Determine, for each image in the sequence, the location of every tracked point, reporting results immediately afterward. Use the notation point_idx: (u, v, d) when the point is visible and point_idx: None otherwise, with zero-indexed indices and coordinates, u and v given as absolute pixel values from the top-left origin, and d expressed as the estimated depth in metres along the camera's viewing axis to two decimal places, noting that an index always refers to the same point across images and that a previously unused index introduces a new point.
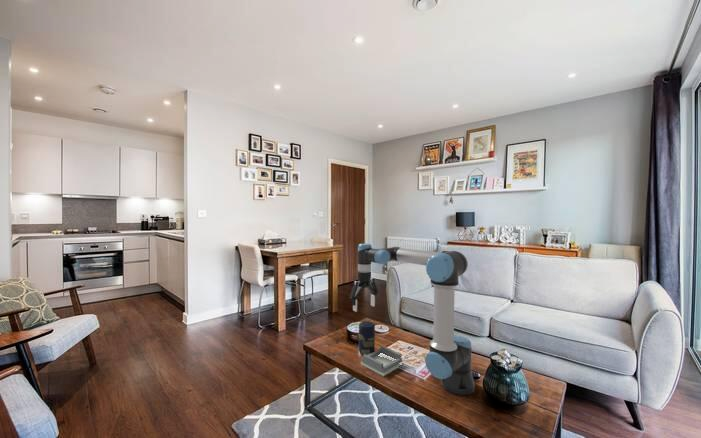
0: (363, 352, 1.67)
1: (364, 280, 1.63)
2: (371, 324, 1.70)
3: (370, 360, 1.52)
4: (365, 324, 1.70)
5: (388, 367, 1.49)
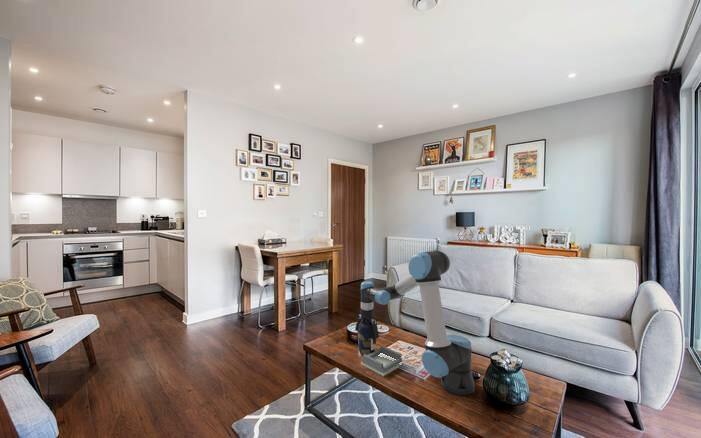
0: (363, 352, 1.67)
1: (364, 316, 1.71)
2: None
3: (370, 360, 1.52)
4: (365, 324, 1.70)
5: (388, 367, 1.49)
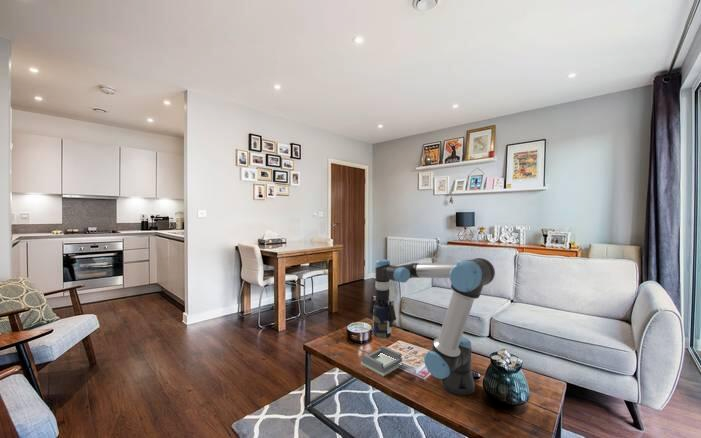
0: (378, 336, 1.53)
1: (379, 296, 1.57)
2: None
3: (370, 360, 1.52)
4: (380, 306, 1.56)
5: (388, 367, 1.49)
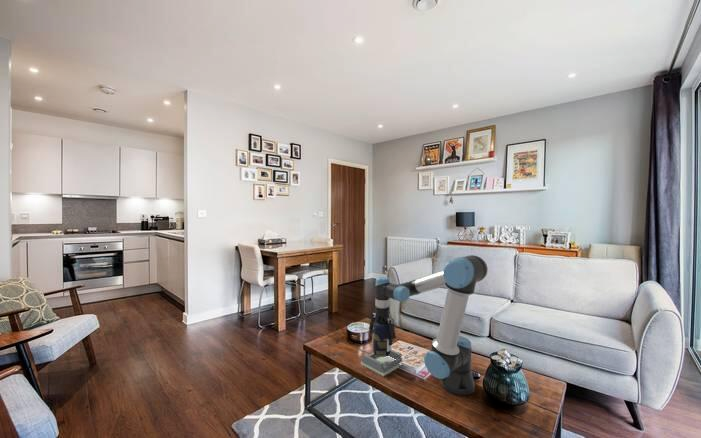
0: (378, 354, 1.53)
1: (379, 314, 1.57)
2: None
3: (370, 360, 1.52)
4: (380, 323, 1.56)
5: (388, 367, 1.49)
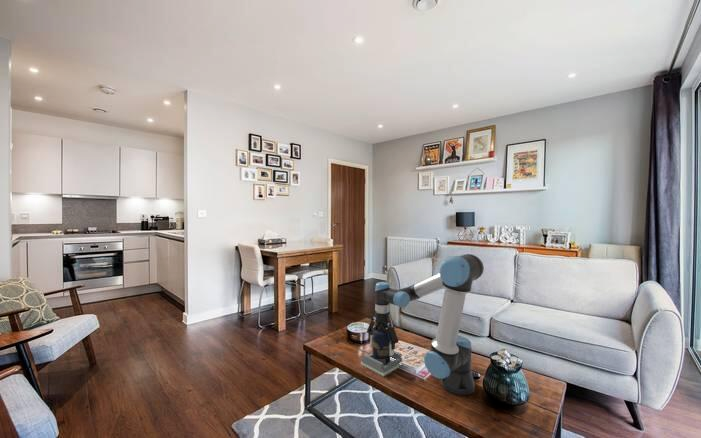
0: None
1: (379, 320, 1.57)
2: None
3: (370, 360, 1.52)
4: (379, 331, 1.56)
5: (388, 367, 1.49)
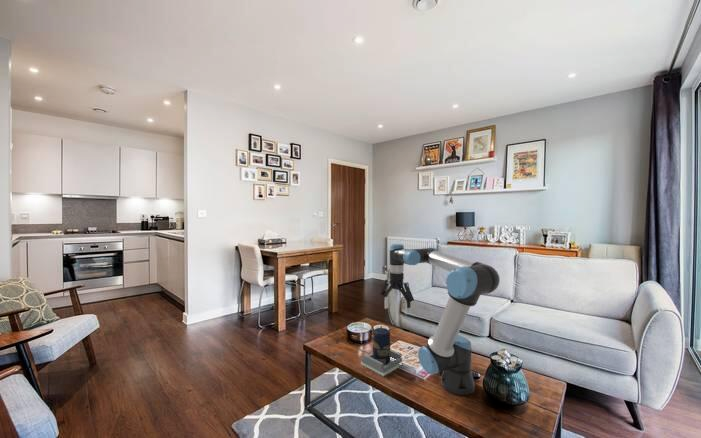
0: None
1: (394, 281, 1.60)
2: (386, 331, 1.56)
3: (370, 360, 1.52)
4: (380, 331, 1.56)
5: (388, 367, 1.49)
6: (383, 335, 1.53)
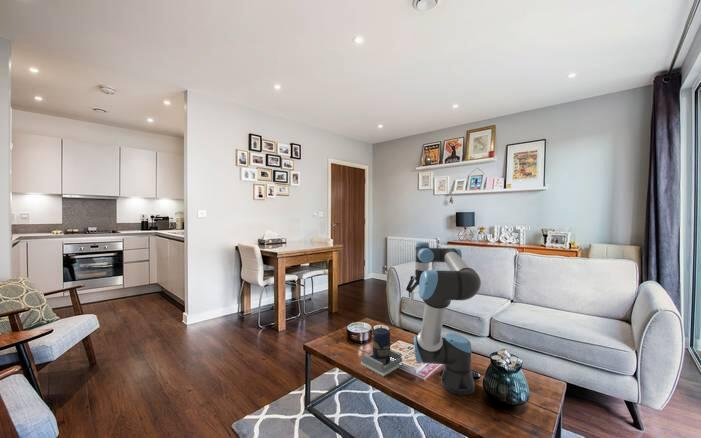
0: None
1: (419, 277, 1.66)
2: (386, 331, 1.56)
3: (370, 360, 1.52)
4: (380, 331, 1.56)
5: (388, 367, 1.49)
6: (383, 335, 1.53)
